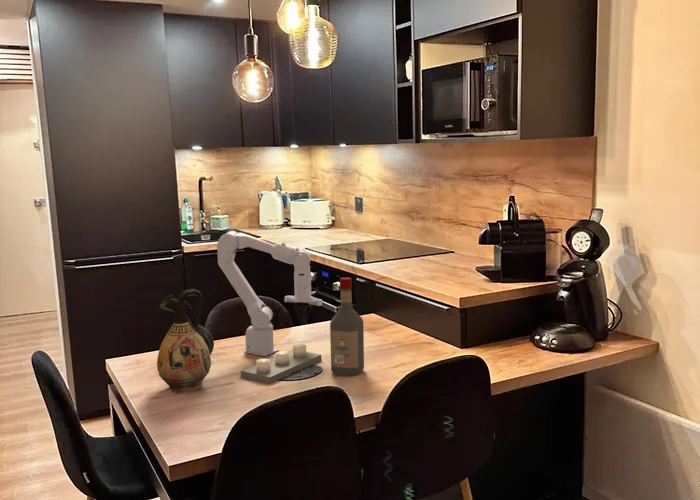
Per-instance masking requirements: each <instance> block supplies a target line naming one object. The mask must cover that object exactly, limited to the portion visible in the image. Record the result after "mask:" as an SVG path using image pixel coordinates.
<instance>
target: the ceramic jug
mask: <svg viewBox="0 0 700 500" xmlns="http://www.w3.org/2000/svg"><path fill="white" fill-rule="evenodd" d="M188 297H194V298H195V299H197V302H196V307H195V311H194V314H193V317H192V319H190V318H189V316H188V315H187V314H188V313H189V312H191V311H192V310H193V306H192V305H191V304H190V303H189V302H187V301H186V300H185V299H186V298H188ZM203 305H204V297H203V295H202V292H200V290H198V289H195V288H188V289H185V290H184V291H182V292H181V294H179V297H178V298H176V297H174V295H172V294H169V295H168V296H166V298H164V299H163V301H162V302H161V303H160V306H159V309H161V310H163V311H169V312H171V313H173V314H174V315H175V318H174V321H173V324H172V325H171V326H170V328H169V329H168V331H167V333H166V335H165V336H164V338H163V340H162V342H161V344H160V347H159V349H158V355H157V360H156V361H157V362H156V365H157V366H156V368H157V373H158V375H159V377H160V378H161V379H162V380H163V382H164V383H166V384H167V385H168V390H170V391H171V392H173V393H177V394H178V393H180V394H181V393H190V392H194V391H196V390H198V389H199V388H201V387H202V385H203V381H204V380H205V379H206V377H207V375H209V373H210V369H211V366H212V359H211V355H210V353H209V349H208V346H207V344H206V343H205V341H204V339H203V337H202V336H201V333H200V329H199V326H198V324H199V319H200V317H201V312H202V309H203Z"/></svg>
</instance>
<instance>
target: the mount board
mask: <svg viewBox="0 0 700 500" xmlns="http://www.w3.org/2000/svg"><path fill="white" fill-rule="evenodd" d="M287 352H289V363H287V364H276V363H275V356H273V357H270V358H269V359H270V363H271V370H270V371H269V372H257V370H256V364H253V365H251V366H248V367H245V368H244V369H241V370H240V378H245V379H249V380H254V381H257V382H261V383H266V384H270V385H271V384H273V383H275V382H277V381H279V380H281V379H280V378H282V379H283V377H284V378H286V377H288V376H290V375H292V374H291V373H293V372H295V373H297V372H299V371H301V370H303V368H304V369H306V368H308V367H310V366H312V365H314V364H317V363H319V362H321V361H322V354H319V353H314V352H309V351H306V356H303V357H295V356H293V348H292V349H290V350H288V351H287ZM305 367H306V368H305ZM298 370H299V371H298ZM296 371H297V372H296ZM289 374H290V375H289ZM293 374H294V373H293ZM287 375H288V376H287ZM285 376H286V377H285Z"/></svg>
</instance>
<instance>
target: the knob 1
mask: <svg viewBox="0 0 700 500" xmlns="http://www.w3.org/2000/svg"><path fill="white" fill-rule="evenodd" d="M255 365H256V370H257V372H269V371H270V370H271V363H270V358H258V359H256V361H255Z"/></svg>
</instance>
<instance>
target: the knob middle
mask: <svg viewBox="0 0 700 500" xmlns="http://www.w3.org/2000/svg"><path fill="white" fill-rule="evenodd" d="M274 357H275V363H276V364H287V363H289V352H288V351H285V350H283V351H282V350H281V351H280V350H279V351H277V352H274Z"/></svg>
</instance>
